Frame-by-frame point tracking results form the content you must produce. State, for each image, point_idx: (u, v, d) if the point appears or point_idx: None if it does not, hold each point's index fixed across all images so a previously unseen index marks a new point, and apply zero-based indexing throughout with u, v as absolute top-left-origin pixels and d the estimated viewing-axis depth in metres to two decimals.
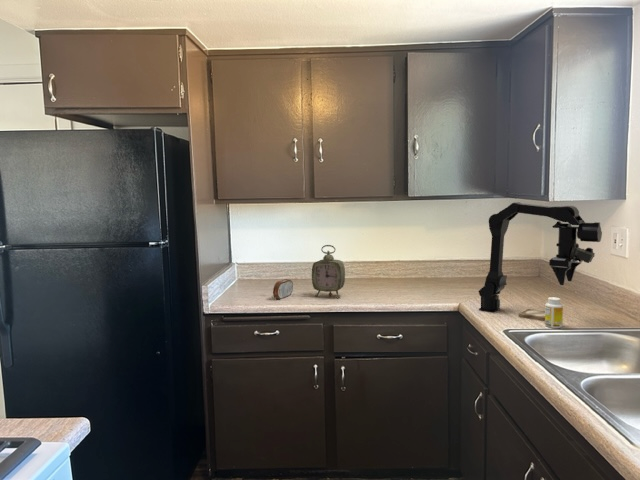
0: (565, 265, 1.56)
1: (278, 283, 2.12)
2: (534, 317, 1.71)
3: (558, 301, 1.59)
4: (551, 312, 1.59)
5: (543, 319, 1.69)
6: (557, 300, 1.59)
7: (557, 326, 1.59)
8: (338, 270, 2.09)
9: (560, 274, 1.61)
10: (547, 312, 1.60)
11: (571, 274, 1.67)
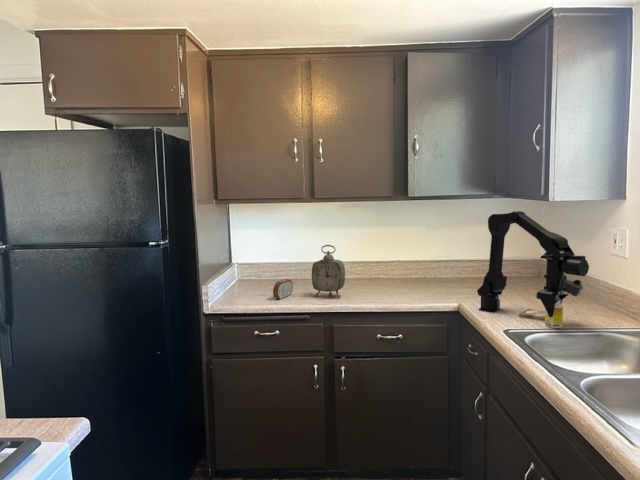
0: (552, 299, 1.52)
1: (278, 283, 2.12)
2: (534, 317, 1.71)
3: (558, 301, 1.59)
4: None
5: (543, 319, 1.69)
6: None
7: (557, 326, 1.59)
8: (338, 270, 2.09)
9: (549, 306, 1.58)
10: None
11: None
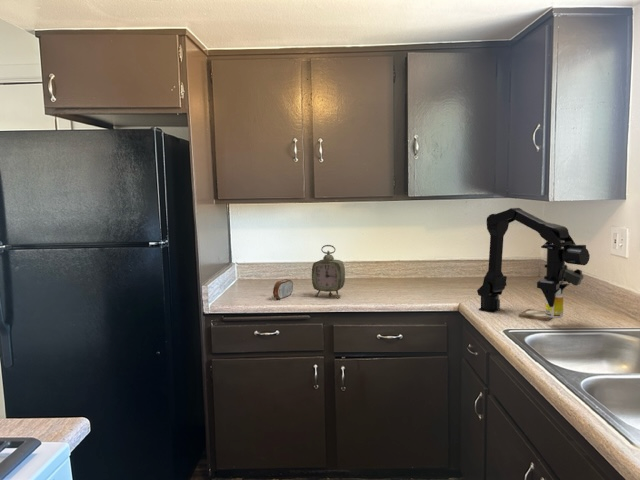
0: (553, 288, 1.52)
1: (278, 283, 2.12)
2: (534, 317, 1.71)
3: (559, 291, 1.58)
4: None
5: (543, 319, 1.69)
6: None
7: (557, 316, 1.58)
8: (338, 270, 2.09)
9: (549, 296, 1.58)
10: (547, 302, 1.60)
11: None
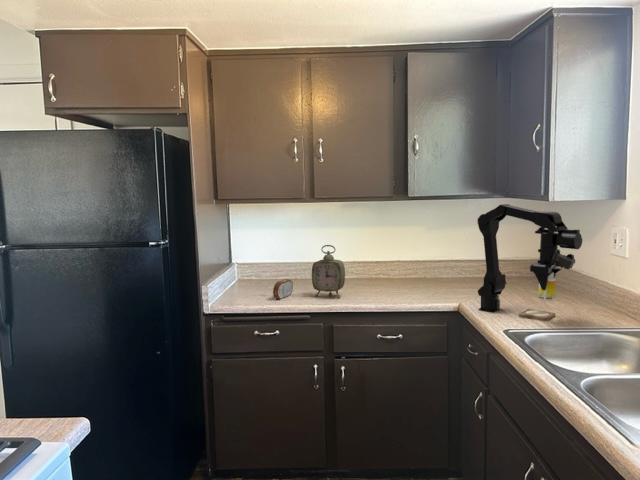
0: (545, 271, 1.57)
1: (278, 283, 2.12)
2: (534, 317, 1.71)
3: (551, 274, 1.63)
4: None
5: (543, 319, 1.69)
6: None
7: (550, 299, 1.63)
8: (338, 270, 2.09)
9: (542, 279, 1.63)
10: None
11: None
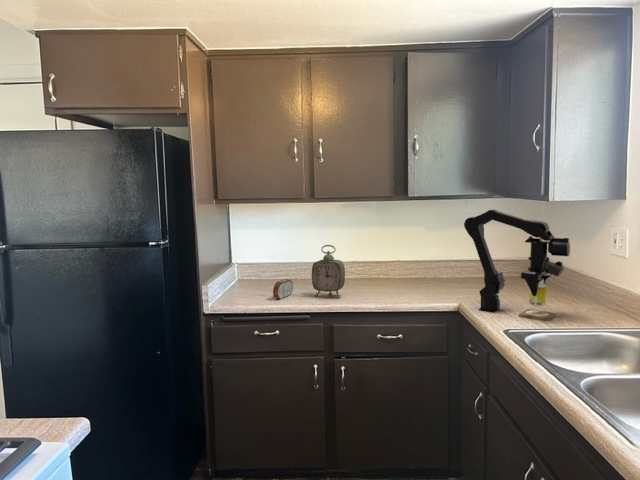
0: (535, 278, 1.65)
1: (278, 283, 2.12)
2: (534, 317, 1.71)
3: (541, 281, 1.72)
4: None
5: (543, 319, 1.69)
6: None
7: (540, 304, 1.72)
8: (338, 270, 2.09)
9: (533, 286, 1.71)
10: None
11: None
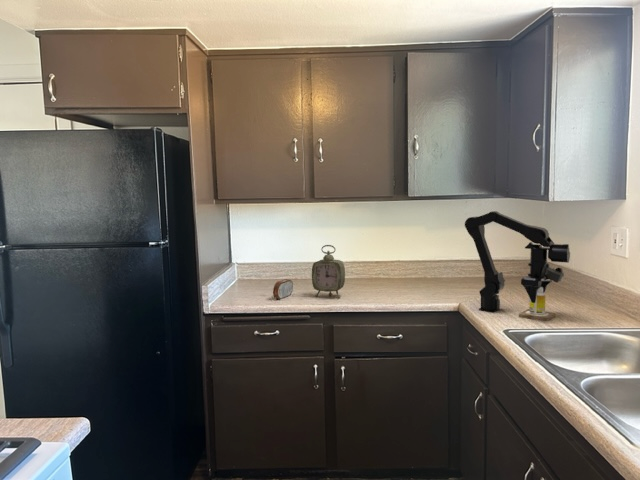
0: (535, 285, 1.65)
1: (278, 283, 2.12)
2: (534, 317, 1.71)
3: (541, 289, 1.72)
4: None
5: (543, 319, 1.69)
6: (540, 288, 1.72)
7: (540, 312, 1.72)
8: (338, 270, 2.09)
9: (531, 292, 1.70)
10: None
11: None
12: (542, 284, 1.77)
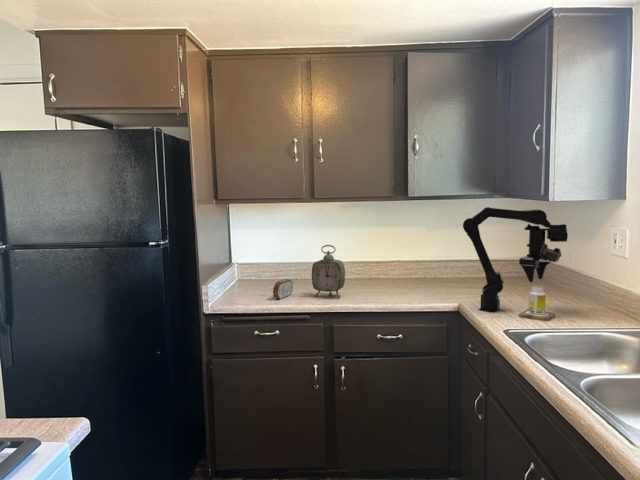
0: (532, 264, 1.71)
1: (278, 283, 2.12)
2: (534, 317, 1.71)
3: (541, 289, 1.72)
4: (534, 300, 1.72)
5: (543, 319, 1.69)
6: (540, 288, 1.72)
7: (540, 312, 1.72)
8: (338, 270, 2.09)
9: (529, 272, 1.75)
10: (531, 300, 1.74)
11: (541, 272, 1.82)
12: (541, 265, 1.82)
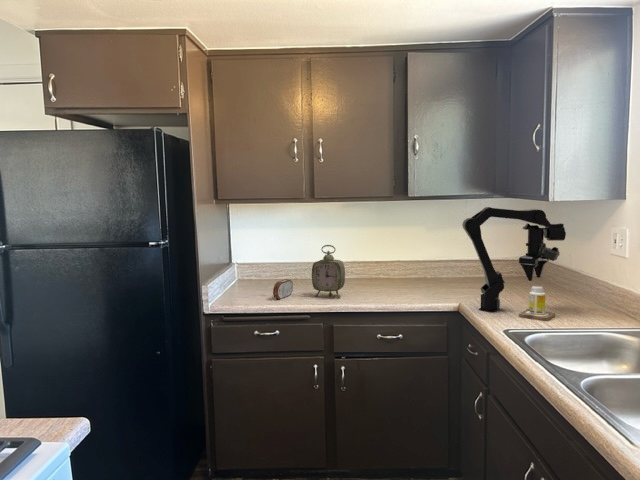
0: (532, 263, 1.73)
1: (278, 283, 2.12)
2: (534, 317, 1.71)
3: (541, 289, 1.72)
4: (534, 300, 1.72)
5: (543, 319, 1.69)
6: (540, 288, 1.72)
7: (540, 312, 1.72)
8: (338, 270, 2.09)
9: (528, 271, 1.78)
10: (531, 300, 1.74)
11: (540, 271, 1.85)
12: (539, 263, 1.85)
